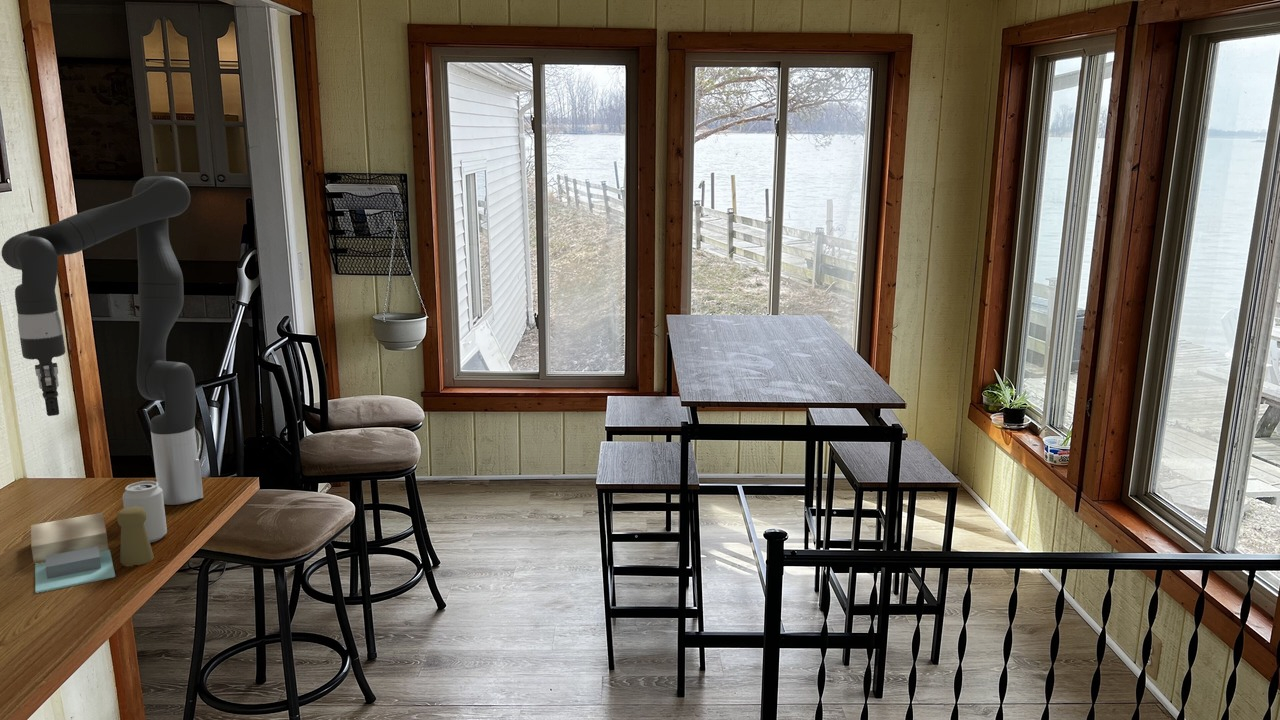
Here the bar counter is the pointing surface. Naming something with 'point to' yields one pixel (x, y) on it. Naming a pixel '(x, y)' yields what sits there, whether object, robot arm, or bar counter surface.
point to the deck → (68, 536)
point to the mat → (74, 575)
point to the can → (148, 506)
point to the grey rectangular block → (72, 562)
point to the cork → (134, 537)
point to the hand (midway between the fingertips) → (53, 414)
